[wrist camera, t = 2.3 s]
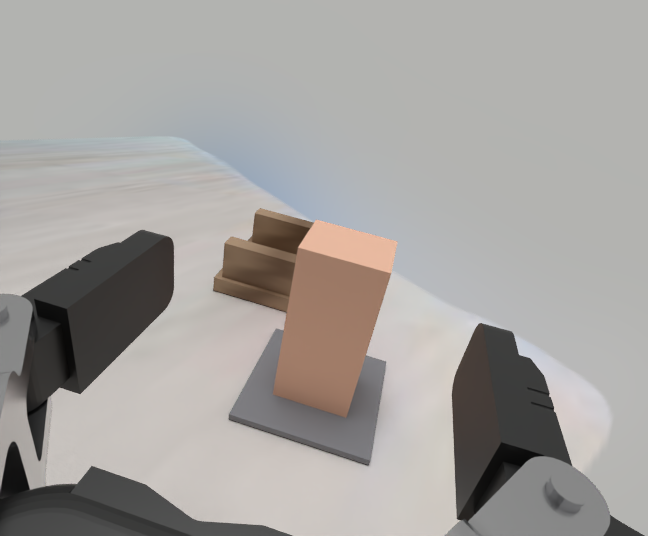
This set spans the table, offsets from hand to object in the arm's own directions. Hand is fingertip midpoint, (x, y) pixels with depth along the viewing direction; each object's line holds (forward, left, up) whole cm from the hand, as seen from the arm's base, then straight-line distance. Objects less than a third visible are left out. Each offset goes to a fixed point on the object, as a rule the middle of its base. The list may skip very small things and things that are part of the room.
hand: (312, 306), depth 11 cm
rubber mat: (+4, +9, -14) cm, 17 cm away
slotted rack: (+4, +21, -14) cm, 26 cm away
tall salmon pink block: (+4, +9, -13) cm, 17 cm away
